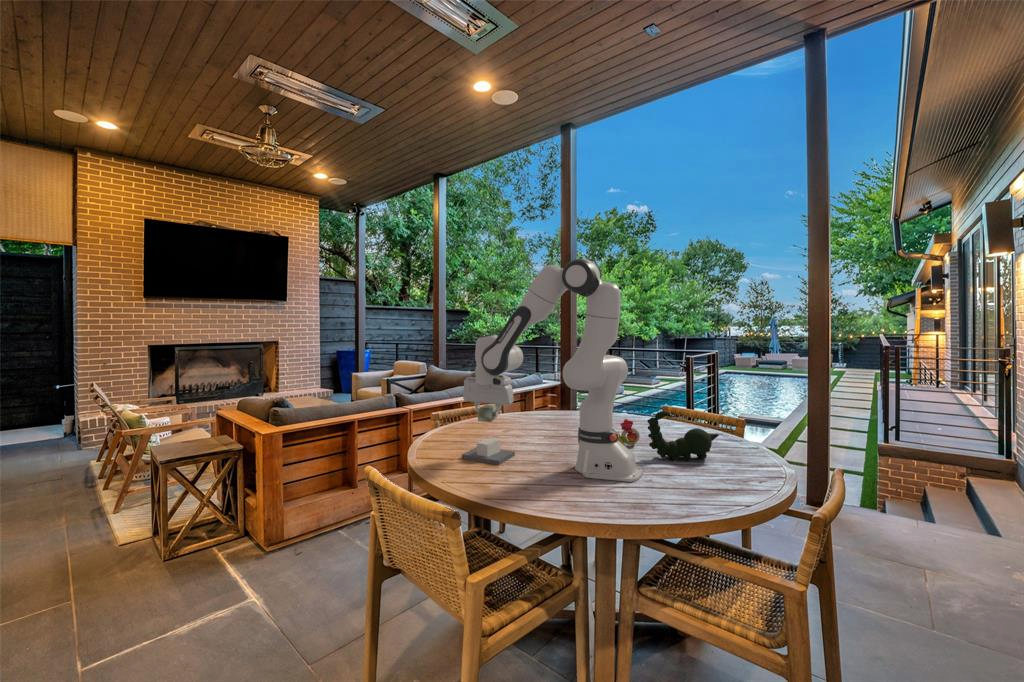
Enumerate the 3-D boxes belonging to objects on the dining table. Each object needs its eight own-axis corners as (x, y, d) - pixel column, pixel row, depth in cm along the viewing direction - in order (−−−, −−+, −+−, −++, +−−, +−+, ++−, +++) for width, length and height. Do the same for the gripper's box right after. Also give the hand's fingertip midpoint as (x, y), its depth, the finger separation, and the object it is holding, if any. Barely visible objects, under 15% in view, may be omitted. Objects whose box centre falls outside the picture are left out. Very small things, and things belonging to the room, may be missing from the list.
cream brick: (500, 451, 169) (500, 439, 169) (487, 456, 162) (487, 444, 162) (489, 449, 172) (489, 437, 171) (476, 454, 165) (476, 442, 165)
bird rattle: (630, 448, 183) (610, 440, 182) (641, 423, 182) (621, 415, 182) (635, 453, 176) (615, 444, 176) (646, 427, 176) (626, 419, 175)
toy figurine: (655, 467, 158) (726, 461, 158) (651, 415, 157) (722, 408, 157) (648, 459, 168) (714, 453, 167) (643, 409, 167) (710, 403, 166)
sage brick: (497, 417, 169) (497, 405, 169) (490, 422, 162) (490, 409, 161) (484, 416, 171) (484, 404, 170) (477, 421, 163) (477, 409, 163)
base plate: (514, 455, 168) (514, 451, 168) (499, 464, 158) (499, 460, 158) (479, 449, 176) (479, 446, 176) (461, 458, 165) (461, 454, 165)
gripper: (459, 377, 167) (459, 413, 168) (507, 381, 158) (507, 419, 159) (468, 375, 173) (469, 410, 174) (515, 378, 163) (515, 416, 164)
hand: (487, 414), depth 166 cm, fingers closed on sage brick, 6 cm apart
